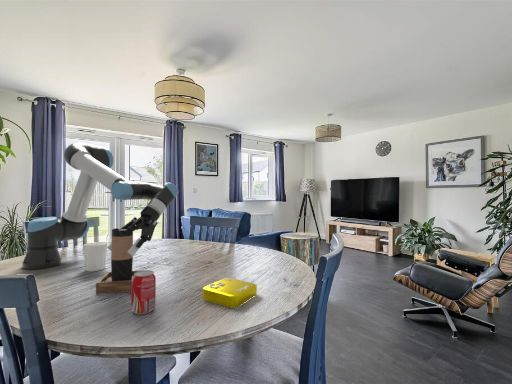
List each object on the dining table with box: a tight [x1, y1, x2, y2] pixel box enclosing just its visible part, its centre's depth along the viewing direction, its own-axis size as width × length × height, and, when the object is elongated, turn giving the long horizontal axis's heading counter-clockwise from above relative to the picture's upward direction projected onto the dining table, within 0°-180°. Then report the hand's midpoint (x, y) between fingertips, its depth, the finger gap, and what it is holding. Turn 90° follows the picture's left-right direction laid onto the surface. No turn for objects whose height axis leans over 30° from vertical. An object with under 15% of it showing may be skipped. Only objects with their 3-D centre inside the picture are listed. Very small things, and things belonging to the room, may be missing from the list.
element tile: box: [202, 277, 258, 309], centre depth 98 cm, size 15×15×5 cm
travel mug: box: [110, 228, 134, 281], centre depth 107 cm, size 8×8×20 cm
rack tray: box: [95, 269, 144, 295], centre depth 106 cm, size 14×14×4 cm
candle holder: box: [83, 241, 108, 272], centre depth 129 cm, size 10×10×12 cm
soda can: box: [130, 269, 157, 315], centre depth 85 cm, size 7×7×12 cm
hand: (119, 251), depth 105 cm, fingers open, 13 cm apart
